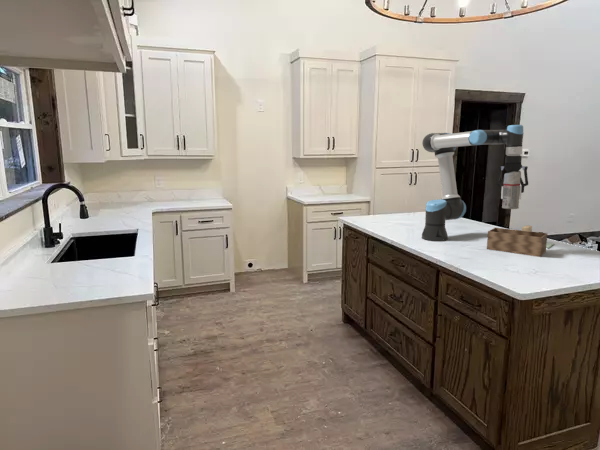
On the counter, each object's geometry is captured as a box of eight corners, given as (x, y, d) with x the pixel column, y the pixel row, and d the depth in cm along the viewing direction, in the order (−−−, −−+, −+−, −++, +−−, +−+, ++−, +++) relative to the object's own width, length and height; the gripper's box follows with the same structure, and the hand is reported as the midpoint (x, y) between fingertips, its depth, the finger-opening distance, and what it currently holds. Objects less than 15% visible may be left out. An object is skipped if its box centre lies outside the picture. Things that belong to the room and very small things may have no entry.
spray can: (520, 209, 214) (522, 171, 211) (502, 209, 217) (505, 171, 213) (517, 207, 222) (520, 170, 218) (500, 207, 225) (503, 170, 221)
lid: (498, 242, 242) (499, 225, 240) (505, 238, 251) (506, 222, 249) (548, 249, 224) (550, 231, 222) (553, 245, 233) (555, 227, 231)
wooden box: (486, 249, 226) (488, 231, 224) (493, 244, 235) (495, 227, 233) (540, 256, 209) (542, 237, 207) (545, 251, 218) (547, 233, 216)
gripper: (491, 155, 217) (488, 198, 221) (536, 155, 206) (533, 200, 210) (492, 155, 223) (490, 197, 227) (536, 154, 213) (533, 198, 217)
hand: (510, 198), depth 219 cm, fingers closed on spray can, 8 cm apart
